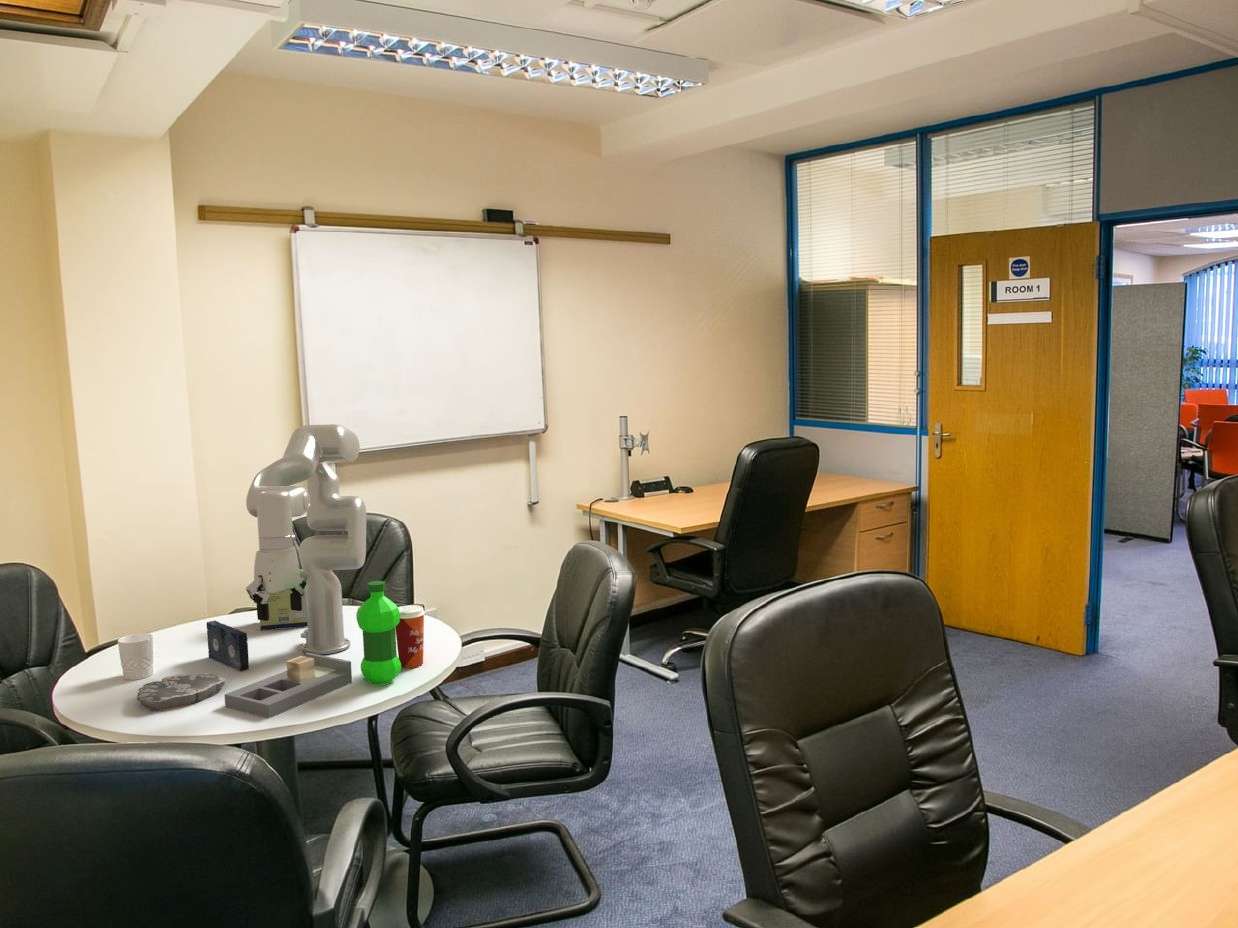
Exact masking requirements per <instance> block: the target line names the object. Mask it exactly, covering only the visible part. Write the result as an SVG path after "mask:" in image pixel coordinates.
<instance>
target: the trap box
mask: <svg viewBox="0 0 1238 928" xmlns="http://www.w3.org/2000/svg"><path fill="white" fill-rule="evenodd" d="M304 656H305V657H310V658H314V664H315V677H312V678H310V679H307V680H305V681H302V682H298V681H293V680H289V679H288V677H287V670H285V671H281V672H280V673H276V674H274V675H271V676H269V677H266V678H263V679H261V680H259V681H255V682H253V683H251V684H248V685H246V686H243V687H240V688H238V689H235V690H234V689H233V691H229V692H227V693H225V694H224V707H225V708H228V709H232V710H236V711H239V712H240V711H241V712H245V713H248V714H252V715H257V716H259V717H262V718H263V717H264V718H268V719H270V718H273V717H275V716H278V715H280V714H282V713H284V712H287V711H289V710H291V709H294V708H296V707H299V706H301V705H303V704H305V703H306V704H307V703H308V702H310V701H313V700H315V699H317V698H320V697H322V696H325V695H327V694H330V693H331V692H334V691H336V690H338V689H340V688H344V687H345V686H348V685H350V684H352V683H353V678H352V677H353V675H352V661H350V660H346V659H342V658H338V657H337V658H335V657H331V656H326V655H323V654H320V655H317V654H312V653H305V654H304Z"/></svg>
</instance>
